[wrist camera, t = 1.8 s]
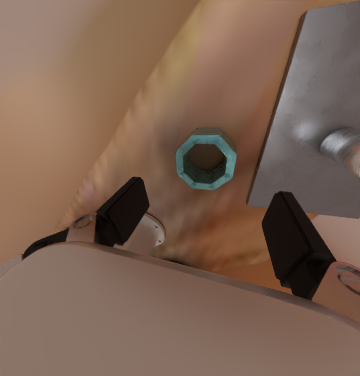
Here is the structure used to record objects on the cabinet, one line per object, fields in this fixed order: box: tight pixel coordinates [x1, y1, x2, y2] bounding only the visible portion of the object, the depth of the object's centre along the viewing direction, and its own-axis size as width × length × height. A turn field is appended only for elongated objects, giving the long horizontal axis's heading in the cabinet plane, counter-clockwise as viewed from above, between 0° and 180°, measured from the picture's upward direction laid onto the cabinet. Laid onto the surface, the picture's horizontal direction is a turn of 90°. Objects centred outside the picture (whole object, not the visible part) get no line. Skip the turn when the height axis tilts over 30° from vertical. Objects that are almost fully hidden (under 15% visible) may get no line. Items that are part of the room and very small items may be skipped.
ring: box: [175, 128, 237, 190], centre depth 18 cm, size 7×7×4 cm
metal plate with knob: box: [246, 1, 360, 219], centre depth 12 cm, size 20×14×7 cm
